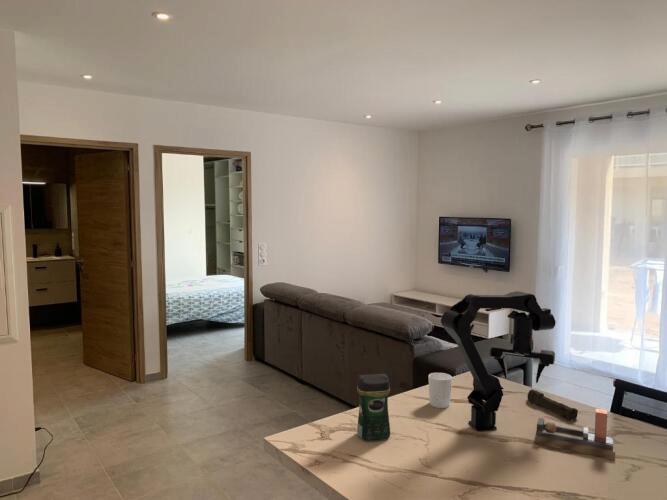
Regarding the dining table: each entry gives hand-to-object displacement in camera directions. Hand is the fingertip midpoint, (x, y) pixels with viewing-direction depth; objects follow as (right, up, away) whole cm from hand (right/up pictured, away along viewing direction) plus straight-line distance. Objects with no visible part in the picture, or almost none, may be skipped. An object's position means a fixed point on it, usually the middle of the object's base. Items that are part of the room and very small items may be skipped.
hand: (521, 380), depth 156 cm
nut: (+4, -12, -13) cm, 18 cm away
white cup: (-23, -12, +14) cm, 29 cm away
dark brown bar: (+13, -13, +9) cm, 20 cm away
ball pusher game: (+9, -14, -15) cm, 23 cm away
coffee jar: (-48, -14, -10) cm, 51 cm away
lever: (+14, -12, -18) cm, 26 cm away
